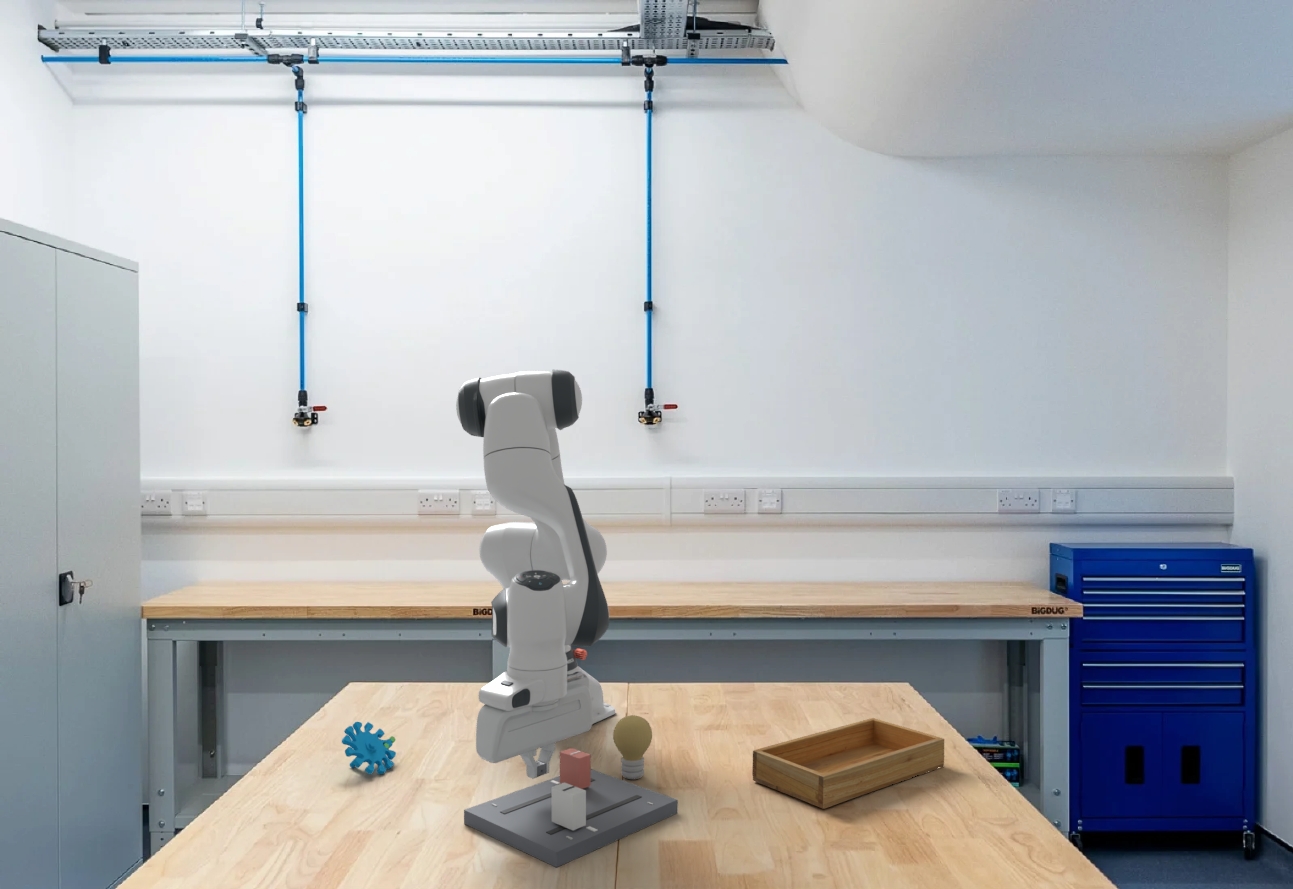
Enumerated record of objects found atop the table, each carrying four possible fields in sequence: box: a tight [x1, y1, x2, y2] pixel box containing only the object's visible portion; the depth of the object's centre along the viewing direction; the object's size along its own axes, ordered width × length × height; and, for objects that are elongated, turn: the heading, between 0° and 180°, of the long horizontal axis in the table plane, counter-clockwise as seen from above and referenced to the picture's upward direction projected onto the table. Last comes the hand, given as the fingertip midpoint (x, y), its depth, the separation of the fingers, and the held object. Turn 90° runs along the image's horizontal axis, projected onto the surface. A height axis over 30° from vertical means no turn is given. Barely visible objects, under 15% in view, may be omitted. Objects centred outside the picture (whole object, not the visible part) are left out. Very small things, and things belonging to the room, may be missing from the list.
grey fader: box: [552, 782, 586, 830], centre depth 130 cm, size 2×4×5 cm, turn 47°
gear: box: [341, 721, 397, 775], centre depth 157 cm, size 11×6×10 cm
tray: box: [751, 717, 945, 810], centre depth 155 cm, size 31×15×6 cm, turn 128°
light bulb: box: [612, 715, 653, 780], centre depth 153 cm, size 6×6×10 cm
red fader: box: [559, 747, 592, 789], centre depth 144 cm, size 2×4×5 cm, turn 47°
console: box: [463, 768, 679, 868], centre depth 137 cm, size 24×20×2 cm
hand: (537, 775), depth 139 cm, fingers closed
